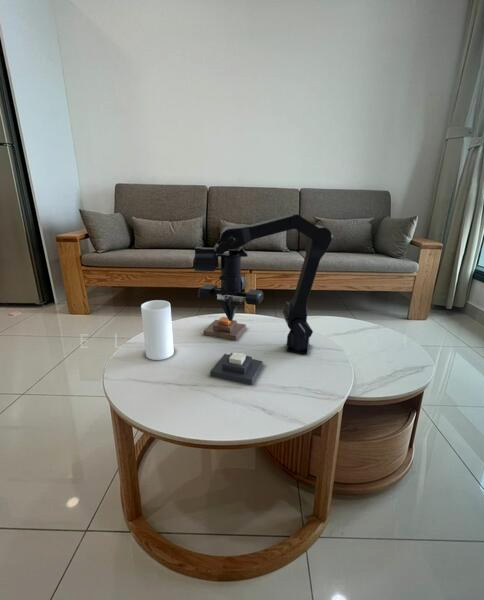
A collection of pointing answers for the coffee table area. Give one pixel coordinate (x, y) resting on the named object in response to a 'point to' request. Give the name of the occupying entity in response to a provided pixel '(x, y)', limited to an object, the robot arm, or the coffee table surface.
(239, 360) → the key front
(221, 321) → the key back
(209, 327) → the stepped brown pyramid
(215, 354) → the coffee table surface
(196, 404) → the coffee table surface
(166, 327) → the cup
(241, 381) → the dark grey stepped stand
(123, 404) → the coffee table surface
